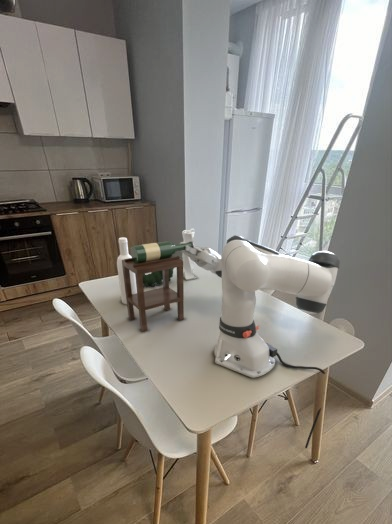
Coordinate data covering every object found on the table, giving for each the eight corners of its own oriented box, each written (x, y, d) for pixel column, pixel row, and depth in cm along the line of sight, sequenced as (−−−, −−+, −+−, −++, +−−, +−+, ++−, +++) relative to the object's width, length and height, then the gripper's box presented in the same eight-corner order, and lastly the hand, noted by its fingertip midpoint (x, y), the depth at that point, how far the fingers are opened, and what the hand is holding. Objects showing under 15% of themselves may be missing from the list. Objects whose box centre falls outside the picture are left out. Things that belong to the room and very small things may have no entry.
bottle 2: (195, 255, 124) (196, 239, 121) (138, 265, 112) (137, 248, 108) (187, 251, 129) (187, 235, 125) (131, 261, 116) (129, 244, 112)
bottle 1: (134, 305, 143) (127, 241, 126) (119, 304, 144) (110, 239, 127) (140, 298, 149) (134, 236, 133) (125, 297, 150) (117, 235, 134)
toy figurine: (142, 294, 158) (182, 281, 169) (135, 259, 147) (178, 247, 157) (134, 288, 165) (173, 276, 175) (128, 254, 154) (170, 243, 164)
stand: (183, 319, 132) (183, 258, 117) (142, 331, 122) (136, 267, 107) (167, 307, 141) (165, 249, 126) (128, 318, 132) (121, 257, 117)
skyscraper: (198, 279, 173) (199, 228, 158) (185, 281, 170) (185, 229, 155) (192, 274, 180) (193, 225, 164) (180, 276, 177) (179, 226, 161)
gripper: (217, 271, 126) (193, 259, 116) (190, 259, 139) (167, 247, 130) (223, 257, 124) (200, 244, 114) (195, 246, 138) (173, 233, 128)
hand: (182, 246), depth 122 cm, fingers closed on bottle 2, 3 cm apart
